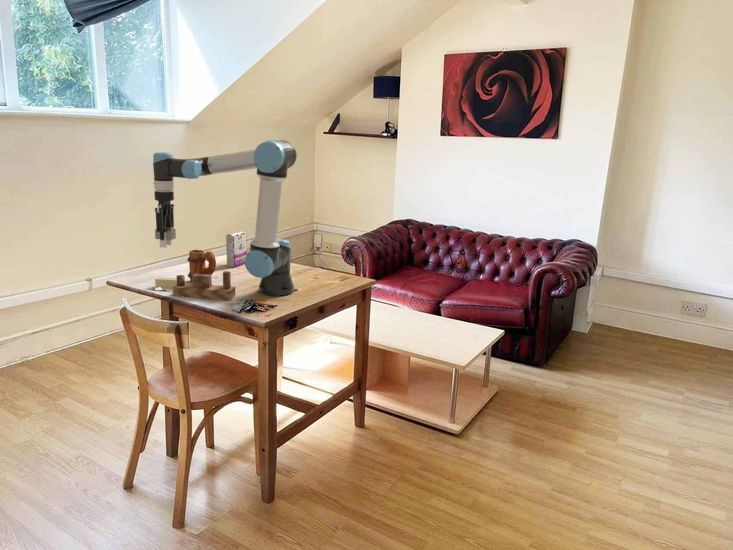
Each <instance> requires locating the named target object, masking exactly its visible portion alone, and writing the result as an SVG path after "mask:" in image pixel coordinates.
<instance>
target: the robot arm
mask: <svg viewBox="0 0 733 550" xmlns="http://www.w3.org/2000/svg"><path fill="white" fill-rule="evenodd" d="M297 154H298V153H297V151H296V147H295V146H294V145H293V144H292V143H291V142H290V141H288V140H284V139H280V140H276V139H275V140H272V139H270V140H265V141H263V142H261V143H259V144H258V145H257V146H256V148H255V149H251V150H244V151H238V152H230V153H224V154H217V155H211V156H204V157H196V158H185V159H183V158H174V157H173V154H172V153H171V152H160V151H159V152H154V153H153V155H152V156H153V159H152V160H153V161H152V167H153V185H154V190H155V191H154V200H155V201H157V202H158V204H157V207H154V211H155V223H156V224H155V226H156V227H155V228H156V230H157V232H159V236H160V239H159V248H164V249H165V248H168V246H172V245H173V240H167V235H166V232H165V228H166V227H172V228H173V229H175V228H174V227H175V221H174V219H175V218H174V217H175V216H174V215H175V214H174V207H175V204H174V203H171V202H172V201H174V200H175V194H174V190H175V189H174V188H175V186H174V178H180V179H188V180H191V179H192V180H195V179H198V178H199V177H204V176H211V175H217V174H223V173H224V174H225V173H232V172H233V173H234V172H238V171H247V170H255V169H256V176H257V177H258V178H259V190H258V197H257V198H258V199H257V209H256V220H255V230H254V231H255V232H254V238H253V239H252V240H251V241H250V245H249V252H247V255H246V257H245V264H244V266H245V268H246V269H245V270H247V272H249V274H250V275H251V276H253V277H254V278H260V282H259V285H258V292H259V293H260V294H261V295H265V296H271V297H280V295H283V296H288V295H287V294H289V295H292V294H293V293H294V292H295V285H294V282H293V279H292V278H293V277H291V249H292V247H291V242H290V241H289V240H287V239H282V238H278V228H279V220H280V219H279V218H280V205H281V198H282V197H281V196H282V189H283V188H282V186H283V182H284V180H286V179H287V178H288V169H290V168H291V167H293V165H294V164H295V163H296V160H297V158H298V157H297V156H298V155H297Z"/></svg>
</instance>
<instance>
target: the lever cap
mask: <svg viewBox="0 0 733 550" xmlns="http://www.w3.org/2000/svg"><path fill="white" fill-rule="evenodd" d="M173 228H174V227H166V228H165V232H166V235H167V240H172V241H173V240H175V239H176V238H177V231H176V228H174V229H173ZM154 232H155V233H154V236H155V237H154V238H155V240H160V236H159V232H157V230H156V229H154Z"/></svg>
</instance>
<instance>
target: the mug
mask: <svg viewBox="0 0 733 550" xmlns="http://www.w3.org/2000/svg"><path fill="white" fill-rule="evenodd" d="M188 255H189V256H188V258H187V262H189V263H188V265H189V272H188V274H187V277H188V278H189V281H190V282H191V283H192V275H194V274H207V275H211V276H212V275H213V274H214V273H215V270H216V267H217V261H216V257H215V255H214V253H213V251H210V250H207V251H206V252H205V251H204V250H202V249H191V250H189V253H188ZM206 262H208V266H207V267H206Z"/></svg>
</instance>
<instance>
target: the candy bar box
mask: <svg viewBox="0 0 733 550" xmlns="http://www.w3.org/2000/svg"><path fill="white" fill-rule="evenodd" d="M225 242H226V243H225V244H226V245H225V247H226V249H225V250H226V267H227V268H234V269H235V268H238V267H241V266H243V264H244V265H245V257H246V255H247V254H248V251H247V247H248V246H247V231H246V232H245V231H236V232H232V233H228V234H226V235H225ZM240 265H241V266H240Z"/></svg>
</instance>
